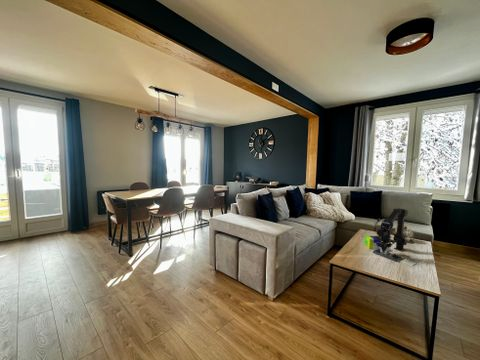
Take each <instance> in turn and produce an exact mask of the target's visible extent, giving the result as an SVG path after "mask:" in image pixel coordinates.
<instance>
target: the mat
mask: <svg viewBox="0 0 480 360" xmlns="http://www.w3.org/2000/svg"><path fill="white" fill-rule="evenodd" d="M399 262H400V263H404V264H405V265H407V266H411V267H412V266H415V265H417V262H414V261H412V260H408V259H405V258H404V259H403V258H402V260H399Z"/></svg>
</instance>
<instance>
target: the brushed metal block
mask: <svg viewBox="0 0 480 360" xmlns="http://www.w3.org/2000/svg"><path fill="white" fill-rule="evenodd" d="M390 251H391V247H389V246H387V248H386V250H385V252H384V253H383V252H382V249H380V253H382V254H385V255H389V254H390V253H391V252H390Z"/></svg>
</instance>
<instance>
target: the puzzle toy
mask: <svg viewBox="0 0 480 360" xmlns="http://www.w3.org/2000/svg"><path fill="white" fill-rule="evenodd" d="M375 236H376V235H366V234H365V236H364V246H365V247H366V248H367V249H369V250H373V251H374V250H377V249H381V246H379V245H376V242H378V241H380V240H375V239H374V237H375ZM381 242H382V241H381Z"/></svg>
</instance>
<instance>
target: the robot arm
mask: <svg viewBox="0 0 480 360" xmlns="http://www.w3.org/2000/svg"><path fill="white" fill-rule="evenodd" d="M392 210H393V211H392V212H391V213H390V214H389V216H388V217H387V218H384V219H383V220H382V221H381V223H380V226H379V229H378V230H377V231H376V235H374V236H375V237H374V239H375V240H380V241H378V242H376V245H379V246H381V249H382V252H383V253H384V252H385V250H386V248H387V246H389V247H390V248H391V247H392V246H393V244H395V247H394V248H393V250H397V251H400V252H404V251H406V249H405V246H407V245H408V243H407V241H406V239H405V235H404V234H403V230H404V225H405V218H407V217H408V214H409V211H408V210H407V209H405V208H399V207H398V208H396V207H395V208H393V209H392ZM396 219H397V224H396V227H397V233H396V234H394V233H393V238H392V235H391V234H392V233H391V231H392V229H393V227H394V225H395V224H394V222H395V221H396ZM381 241H382V242H381Z"/></svg>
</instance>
